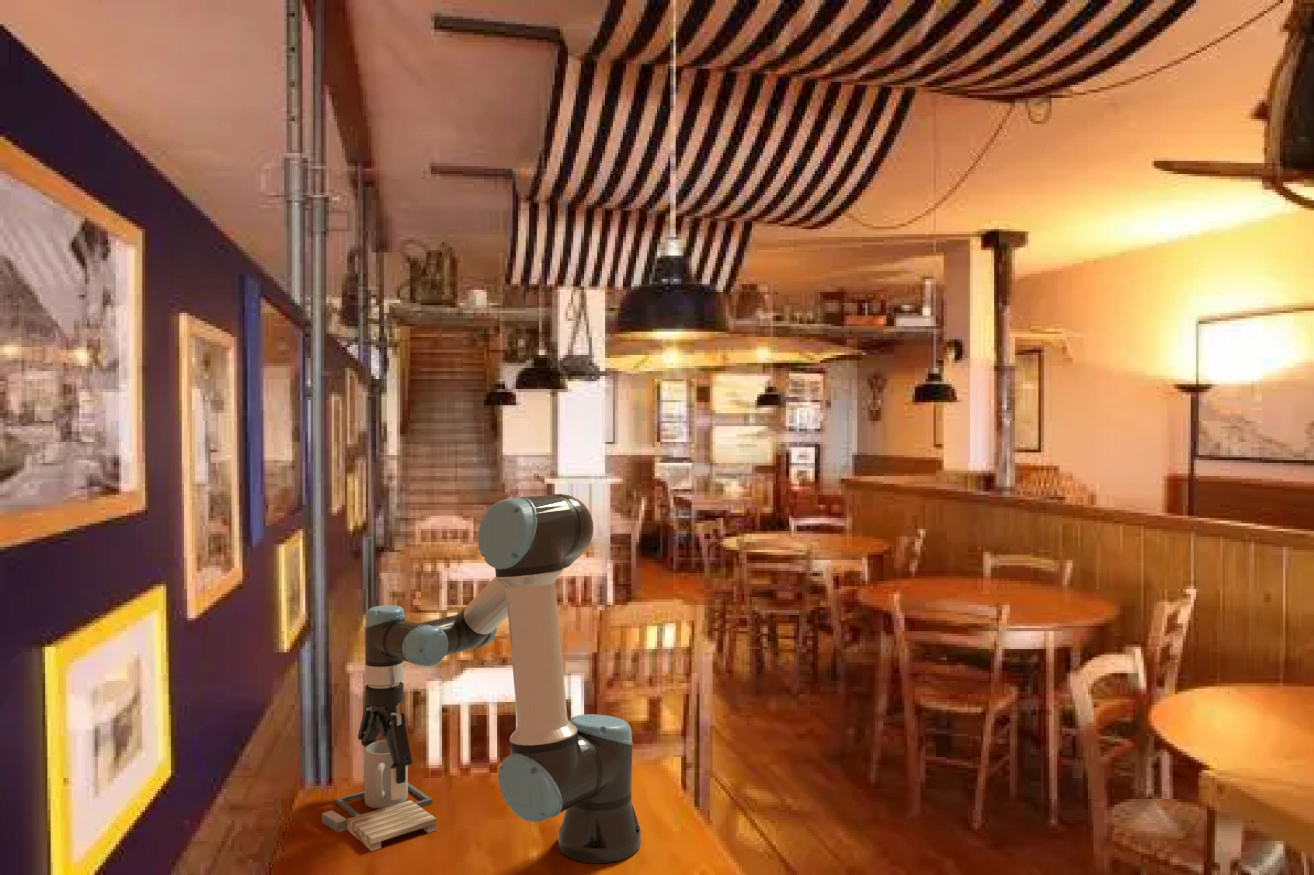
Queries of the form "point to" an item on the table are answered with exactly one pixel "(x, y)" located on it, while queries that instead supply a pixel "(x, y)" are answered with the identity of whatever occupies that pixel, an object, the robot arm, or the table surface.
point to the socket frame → (350, 810)
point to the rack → (390, 823)
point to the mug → (380, 776)
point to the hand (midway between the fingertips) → (383, 787)
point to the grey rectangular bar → (334, 821)
